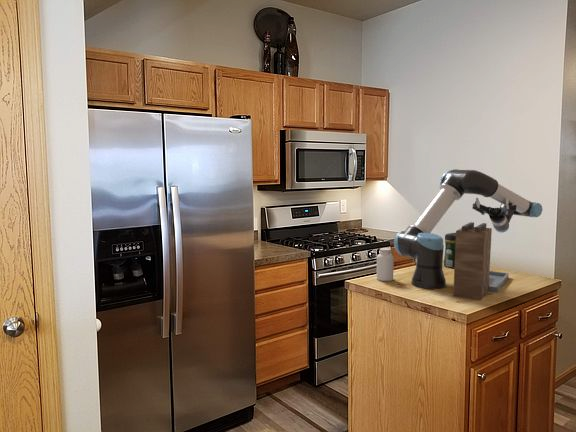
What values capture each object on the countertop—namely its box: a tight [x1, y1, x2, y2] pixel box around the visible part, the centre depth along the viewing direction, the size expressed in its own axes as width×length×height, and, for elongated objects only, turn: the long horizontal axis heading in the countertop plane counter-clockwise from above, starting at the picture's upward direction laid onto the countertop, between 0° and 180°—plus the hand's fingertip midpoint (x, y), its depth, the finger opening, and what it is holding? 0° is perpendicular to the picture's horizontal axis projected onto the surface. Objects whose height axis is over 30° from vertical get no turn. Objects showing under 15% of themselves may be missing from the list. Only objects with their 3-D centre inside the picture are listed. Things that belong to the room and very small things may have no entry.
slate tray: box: [488, 270, 509, 293], centre depth 217 cm, size 31×18×2 cm, turn 146°
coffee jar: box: [443, 232, 456, 269], centre depth 248 cm, size 10×8×19 cm
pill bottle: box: [376, 247, 395, 282], centre depth 221 cm, size 8×8×15 cm
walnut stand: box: [452, 221, 493, 301], centre depth 196 cm, size 16×11×30 cm
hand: (491, 200), depth 223 cm, fingers open, 13 cm apart
